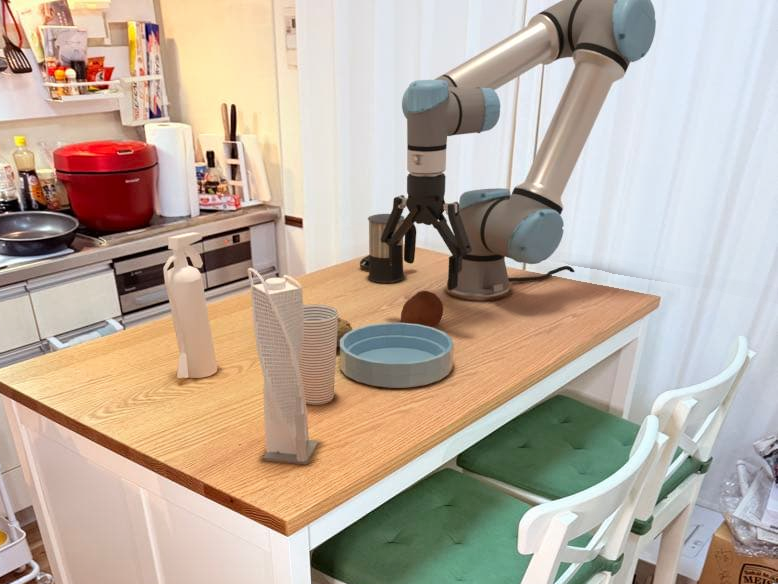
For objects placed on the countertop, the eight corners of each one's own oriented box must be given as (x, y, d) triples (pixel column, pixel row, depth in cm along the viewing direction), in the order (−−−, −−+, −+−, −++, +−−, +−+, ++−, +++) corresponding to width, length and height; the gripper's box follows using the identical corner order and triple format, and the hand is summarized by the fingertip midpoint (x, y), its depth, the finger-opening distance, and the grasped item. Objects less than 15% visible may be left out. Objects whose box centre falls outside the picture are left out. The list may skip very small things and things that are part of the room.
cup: (296, 388, 141) (290, 304, 132) (342, 388, 141) (340, 304, 132) (290, 407, 134) (284, 320, 125) (339, 408, 134) (336, 321, 125)
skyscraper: (254, 459, 119) (235, 276, 103) (270, 435, 126) (255, 259, 110) (306, 464, 118) (295, 279, 102) (320, 440, 124) (312, 263, 108)
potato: (390, 331, 165) (390, 294, 161) (422, 318, 172) (423, 282, 168) (418, 340, 161) (419, 302, 157) (450, 325, 168) (452, 288, 164)
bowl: (380, 339, 162) (380, 315, 159) (471, 360, 152) (473, 336, 149) (318, 372, 147) (316, 347, 144) (414, 399, 137) (415, 373, 134)
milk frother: (391, 286, 192) (392, 223, 183) (339, 276, 199) (338, 215, 190) (420, 272, 202) (422, 212, 193) (369, 263, 209) (369, 205, 200)
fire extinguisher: (161, 381, 144) (137, 242, 130) (201, 359, 153) (183, 227, 138) (190, 388, 141) (169, 247, 127) (229, 365, 150) (213, 231, 136)
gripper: (362, 170, 152) (365, 278, 165) (474, 182, 141) (468, 297, 153) (383, 164, 157) (384, 269, 170) (492, 175, 146) (485, 287, 158)
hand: (424, 283), depth 161 cm, fingers open, 13 cm apart
